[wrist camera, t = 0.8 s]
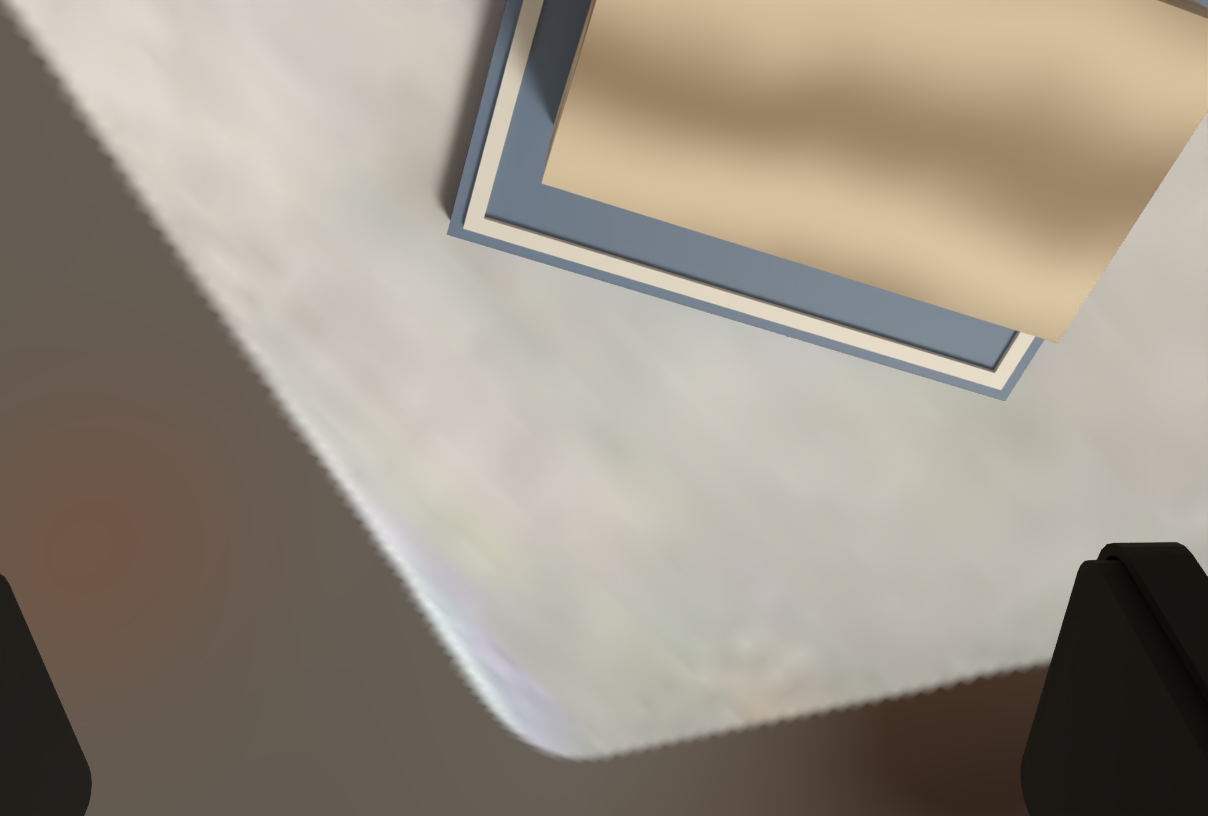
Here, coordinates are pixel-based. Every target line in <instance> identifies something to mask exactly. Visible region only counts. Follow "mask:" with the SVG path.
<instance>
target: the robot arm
mask: <svg viewBox="0 0 1208 816" xmlns="http://www.w3.org/2000/svg"><path fill="white" fill-rule="evenodd" d="M91 787H92V780H91V772H90V769H89V766H88V763H87V761H86V759H85V757H84V754H83V752H82V750H81V748H80V745H79V743H78V741H77V738H76V736H75V734H74V731H73V729H72V727H71V725H70V722H69V720H68V718H67V715H66V713H65V711H64V708H63V706H62V704H61V701H60V699H59V697H58V695H57V692H56V690H55V688H54V686H53V683H52V681H51V679H50V676H49V674H48V672H47V670H46V667H45V665H44V663H43V660H42V658H41V656H40V653H39V651H38V649H37V646H36V644H35V642H34V640H33V637H32V635H31V633H30V631H29V628H28V626H27V624H26V621H25V619H24V617H23V614H22V612H21V610H20V608H19V605H18V603H17V601H16V598H15V596H14V594H13V592H12V589H11V587H10V585H9V583H8V582H7V580H6V578H5V577H4V576H3V575H1V574H0V816H84V815H85V812H86V810H87V807H88V805H89V800H90V795H91ZM1021 787H1022V791H1023V797H1024V801H1025V804H1026V807H1027V810H1028V812H1029V815H1030V816H1208V576H1207V575H1206V573H1205V572H1204V571H1203V569H1202V568H1201V566H1200V565H1199V563H1198V562H1197V560H1196V559H1195V557H1194V556H1193V554H1192V553H1191V552H1190V551H1189V550H1188V549H1187V548H1186V547H1185V546H1184V545H1182V544H1179V543H1177V542H1157V543H1111V544H1107V545H1106V546H1105V547H1104V548H1103V549H1102V550H1101V552H1100V554H1099V556H1098V558H1097V560H1088V561H1084V562H1083V563H1082V564H1081V566H1080V568H1079V570H1078V572H1077V576H1076V579H1075V583H1074V586H1073V589H1072V593H1071V596H1070V599H1069V603H1068V606H1067V610H1066V613H1065V616H1064V620H1063V623H1062V626H1061V630H1060V633H1059V637H1058V640H1057V643H1056V647H1055V650H1054V653H1053V657H1052V660H1051V664H1050V667H1049V671H1048V674H1047V677H1046V681H1045V684H1044V687H1043V691H1042V694H1041V698H1040V701H1039V704H1038V707H1037V711H1036V714H1035V718H1034V721H1033V725H1032V728H1031V731H1030V734H1029V738H1028V742H1027V745H1026V748H1025V751H1024V755H1023V758H1022V763H1021Z"/></svg>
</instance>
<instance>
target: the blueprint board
mask: <svg viewBox="0 0 1208 816" xmlns="http://www.w3.org/2000/svg"><path fill="white" fill-rule="evenodd" d="M1207 111H1208V0H507V1H506V5H505V9H504V13H503V17H502V21H501V25H500V29H499V33H498V36H497V40H496V44H495V48H494V52H493V56H492V60H491V64H490V68H489V72H488V76H487V80H486V83H485V87H484V91H483V95H482V99H481V103H480V107H479V111H478V115H477V119H476V123H475V127H474V130H473V134H472V138H471V142H470V146H469V150H468V154H467V158H466V162H465V166H464V170H463V174H462V177H461V181H460V185H459V189H458V193H457V197H456V201H455V205H454V209H453V213H452V217H451V220H450V224H449V228H448V232H447V235H450V236H454V237H457V238H460V239H464V240H467V241H470V242H474V243H477V244H480V245H484V246H487V247H491V248H494V249H497V250H501V251H504V252H507V253H511V254H514V255H517V256H521V257H524V258H527V259H531V260H534V261H537V262H541V263H544V264H547V265H551V266H554V267H557V268H561V269H564V270H567V271H571V272H574V273H578V274H581V275H584V276H588V277H591V278H594V279H598V280H601V281H604V282H608V283H611V284H614V285H618V286H621V287H624V288H628V289H631V290H634V291H638V292H641V293H644V294H648V295H651V296H654V297H658V298H661V299H665V300H668V301H671V302H675V303H678V304H681V305H685V306H688V307H691V308H695V309H698V310H701V311H705V312H708V313H711V314H715V315H718V316H721V317H725V318H728V319H731V320H735V321H738V322H741V323H745V324H748V325H752V326H755V327H758V328H762V329H765V330H768V331H772V332H775V333H778V334H782V335H785V336H788V337H792V338H795V339H798V340H802V341H805V342H808V343H812V344H815V345H818V346H822V347H825V348H828V349H832V350H835V351H839V352H842V353H845V354H849V355H852V356H855V357H859V358H862V359H865V360H869V361H872V362H875V363H879V364H882V365H885V366H889V367H892V368H895V369H899V370H902V371H905V372H909V373H912V374H915V375H919V376H922V377H926V378H929V379H932V380H936V381H939V382H942V383H946V384H949V385H952V386H956V387H959V388H962V389H966V390H969V391H972V392H976V393H979V394H982V395H986V396H989V397H992V398H996V399H999V400H1002V401H1006V399H1007V397H1008V396H1009V394H1010V393H1011V391H1012V390H1013V388H1014V386H1015V385H1016V383H1017V382H1018V380H1019V379H1020V377H1021V376H1022V374H1023V372H1024V371H1025V369H1026V368H1027V366H1028V365H1029V363H1030V361H1031V360H1032V358H1033V357H1034V355H1035V354H1036V352H1037V351H1038V349H1039V347H1040V346H1041V344H1042V343H1043V341H1044V340H1048V341H1052V342H1055V343H1058V341H1059V340H1060V338H1061V336H1062V335H1063V333H1064V332H1065V330H1066V329H1067V327H1068V326H1069V324H1070V323H1071V321H1072V319H1073V318H1074V316H1075V315H1076V313H1077V312H1078V310H1079V309H1080V307H1081V306H1082V304H1083V303H1084V301H1085V299H1086V298H1087V296H1088V295H1089V293H1090V292H1091V290H1092V289H1093V287H1094V286H1095V284H1096V283H1097V281H1098V279H1099V278H1100V276H1101V275H1102V273H1103V272H1104V270H1105V269H1106V267H1107V266H1108V264H1109V262H1110V261H1111V259H1112V258H1113V256H1114V255H1115V253H1116V252H1117V250H1118V249H1119V247H1120V246H1121V244H1122V242H1123V241H1124V239H1125V238H1126V236H1127V235H1128V233H1129V232H1130V230H1131V229H1132V227H1133V225H1134V224H1135V222H1136V221H1137V219H1138V218H1139V216H1140V215H1141V213H1142V212H1143V210H1144V209H1145V207H1146V205H1147V204H1148V202H1149V201H1150V199H1151V198H1152V196H1153V195H1154V193H1155V192H1156V190H1157V189H1158V187H1159V185H1160V184H1161V182H1162V181H1163V179H1164V178H1165V176H1166V175H1167V173H1168V172H1169V170H1170V168H1171V167H1172V165H1173V164H1174V162H1175V161H1176V159H1177V158H1178V156H1179V155H1180V153H1181V152H1182V150H1183V148H1184V147H1185V145H1186V144H1187V142H1188V141H1189V139H1190V138H1191V136H1192V135H1193V133H1194V131H1195V130H1196V128H1197V127H1198V125H1199V124H1200V122H1201V121H1202V119H1203V118H1204V116H1205V115H1206V113H1207Z"/></svg>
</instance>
